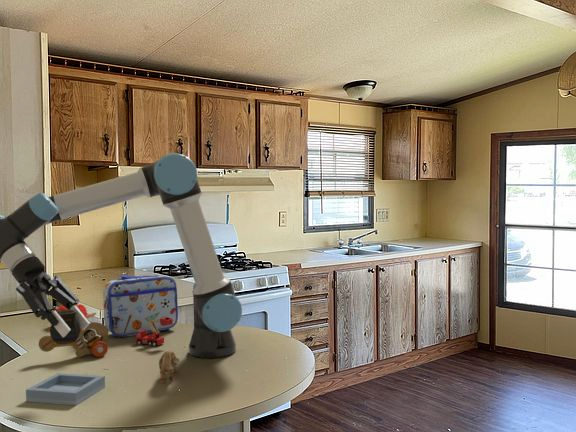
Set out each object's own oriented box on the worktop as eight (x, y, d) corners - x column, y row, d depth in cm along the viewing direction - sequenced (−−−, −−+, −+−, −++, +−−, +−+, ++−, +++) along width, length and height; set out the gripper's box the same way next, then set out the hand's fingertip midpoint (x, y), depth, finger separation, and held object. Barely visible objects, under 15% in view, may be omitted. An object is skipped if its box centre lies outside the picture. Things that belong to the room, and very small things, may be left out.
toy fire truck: (140, 341, 194) (139, 314, 194) (173, 345, 189) (173, 316, 189) (134, 344, 191) (133, 316, 191) (167, 347, 186) (167, 319, 185)
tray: (105, 387, 148) (104, 375, 148) (76, 405, 135) (76, 393, 135) (58, 383, 151) (58, 373, 151) (26, 401, 138) (25, 389, 138)
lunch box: (106, 341, 195) (104, 279, 194) (99, 335, 204) (97, 275, 203) (180, 330, 209) (179, 272, 209) (171, 324, 218) (169, 269, 217)
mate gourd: (86, 339, 146) (85, 301, 146) (68, 347, 139) (67, 307, 138) (62, 338, 148) (61, 300, 147) (43, 345, 140) (42, 306, 140)
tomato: (49, 325, 219) (48, 304, 219) (80, 320, 228) (79, 300, 228) (61, 331, 210) (60, 309, 210) (93, 325, 219) (92, 304, 218)
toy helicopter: (111, 355, 178) (110, 312, 177) (41, 366, 167) (39, 321, 166) (105, 349, 184) (104, 308, 184) (37, 360, 174) (36, 316, 173)
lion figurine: (180, 385, 149) (179, 352, 148) (160, 387, 147) (159, 354, 147) (176, 369, 163) (175, 338, 162) (158, 370, 161) (157, 340, 161)
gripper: (43, 269, 157) (92, 330, 152) (-15, 279, 138) (40, 349, 134) (58, 251, 155) (109, 312, 150) (2, 259, 136) (58, 329, 132)
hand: (76, 330), depth 142 cm, fingers closed on mate gourd, 7 cm apart
